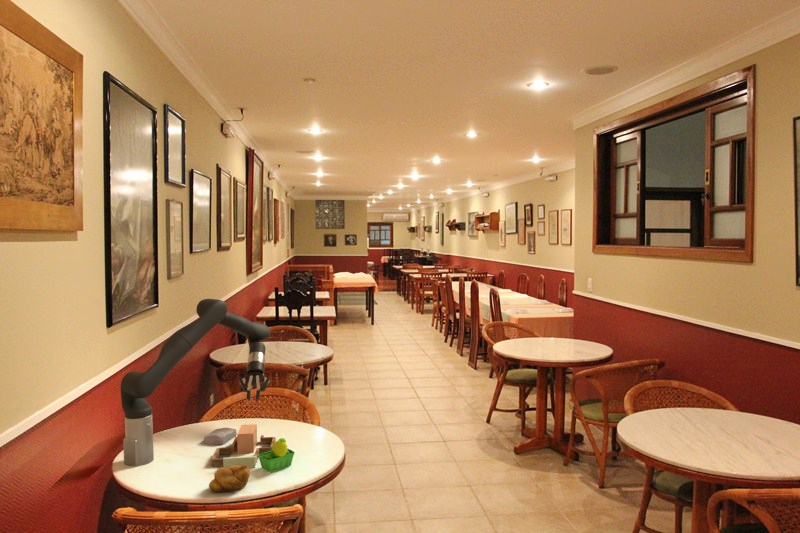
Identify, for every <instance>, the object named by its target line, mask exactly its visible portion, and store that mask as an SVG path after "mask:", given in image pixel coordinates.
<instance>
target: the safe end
mask: <svg viewBox="0 0 800 533" xmlns="http://www.w3.org/2000/svg"><path fill="white" fill-rule="evenodd" d="M232 465H233V466H235V465H237V466H240V465H247V466H248V467H249V469H256V467H255V456H254V455H251V456H250V455H248V456H233V457H232V456H231V457H228V458H223V466H222V468H227V469H228V468H229V467H230V466H232Z"/></svg>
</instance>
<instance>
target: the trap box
mask: <svg viewBox="0 0 800 533" xmlns="http://www.w3.org/2000/svg"><path fill="white" fill-rule="evenodd" d="M259 439H260V440H259V442H260V445H261V446H260V447H256V448H255V451H254V455H253V456H255V466H257V464H258V461H257V460H259V458H258V455H259V454H262V453H265V452H268V451H272V445H273V444H274V443H275V442H277V441H276V439H277V438H276V436H274V437H273V436H266V437H265V436H264V435H263V434H261V435H260V438H259ZM237 448H238V445H237V436H235V437H234V438H233V442H232V444H231V446H228V447H227V446H225V447H217V448H216V450H215V452H214V453H213V455H212V457H211V459H210V465H211V467H214V468H215V467H223V458H228V457H230V456H231V455H233V454H235V451H236V449H237ZM256 463H257V464H256Z"/></svg>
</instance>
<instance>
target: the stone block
mask: <svg viewBox="0 0 800 533" xmlns="http://www.w3.org/2000/svg"><path fill="white" fill-rule="evenodd" d="M237 434H238V432H237V429H236V428H232V427H231V428H230V427H221V428H217V429H214V430H212V431H211V432H210V433H208V435H205V436H204V437H203V441H204V444H206V445H213V446H214V445H216V446H222V445H224V446H225V444H227V443H228V442H230V441H231V440H232V439H235V437H237Z"/></svg>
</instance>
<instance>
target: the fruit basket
mask: <svg viewBox="0 0 800 533" xmlns="http://www.w3.org/2000/svg"><path fill="white" fill-rule="evenodd" d="M294 456H295V451H294V450H292V449H290V448H288V444H287V440H286V438H283V437H281V438H279V439H277V441H276V442H275V443H274V444H273V445H272V451H268V452H265V453H262V454H259V455H258V460H259V464H260V466H261V469H262V470H264V471H266V472H268V473H269V472H270V473H273V472H277V471H278V470H283V469H285V468H287V467H291V466H292V464H293V457H294Z"/></svg>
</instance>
